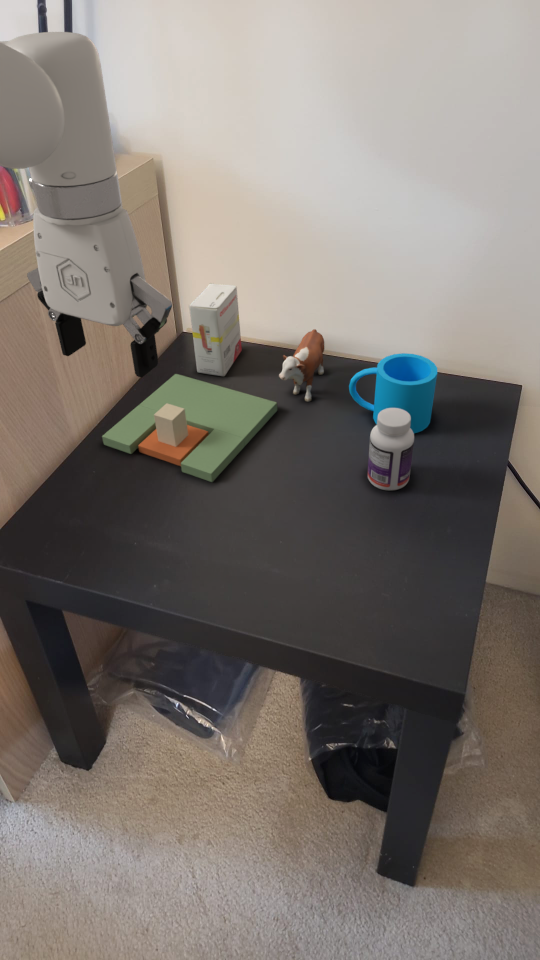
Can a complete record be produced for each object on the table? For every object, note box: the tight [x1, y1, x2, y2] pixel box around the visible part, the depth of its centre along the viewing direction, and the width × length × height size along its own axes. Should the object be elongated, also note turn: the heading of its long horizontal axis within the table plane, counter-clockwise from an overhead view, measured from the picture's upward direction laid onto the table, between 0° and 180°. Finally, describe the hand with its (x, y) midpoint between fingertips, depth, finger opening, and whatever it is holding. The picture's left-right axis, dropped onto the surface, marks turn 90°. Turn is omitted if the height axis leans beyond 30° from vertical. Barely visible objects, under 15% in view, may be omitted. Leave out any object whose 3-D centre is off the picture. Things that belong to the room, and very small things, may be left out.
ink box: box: [188, 282, 243, 377], centre depth 108 cm, size 9×5×12 cm, turn 161°
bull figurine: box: [278, 328, 326, 402], centre depth 102 cm, size 4×13×8 cm, turn 158°
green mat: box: [101, 373, 278, 483], centre depth 98 cm, size 18×18×2 cm
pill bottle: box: [367, 408, 415, 491], centre depth 85 cm, size 5×5×10 cm
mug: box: [348, 352, 438, 435], centre depth 96 cm, size 12×8×8 cm
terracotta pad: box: [138, 403, 209, 467], centre depth 93 cm, size 7×7×6 cm
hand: (110, 360), depth 73 cm, fingers open, 9 cm apart
